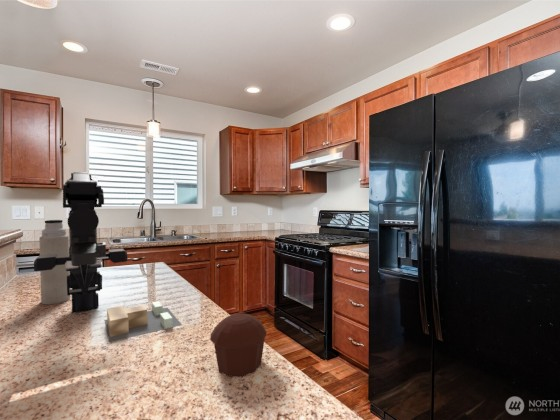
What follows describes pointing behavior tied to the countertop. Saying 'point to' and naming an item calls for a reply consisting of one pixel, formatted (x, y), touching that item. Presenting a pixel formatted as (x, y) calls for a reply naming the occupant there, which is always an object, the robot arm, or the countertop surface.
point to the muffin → (238, 344)
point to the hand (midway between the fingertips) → (84, 293)
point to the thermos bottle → (56, 278)
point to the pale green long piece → (162, 315)
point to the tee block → (125, 319)
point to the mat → (144, 326)
